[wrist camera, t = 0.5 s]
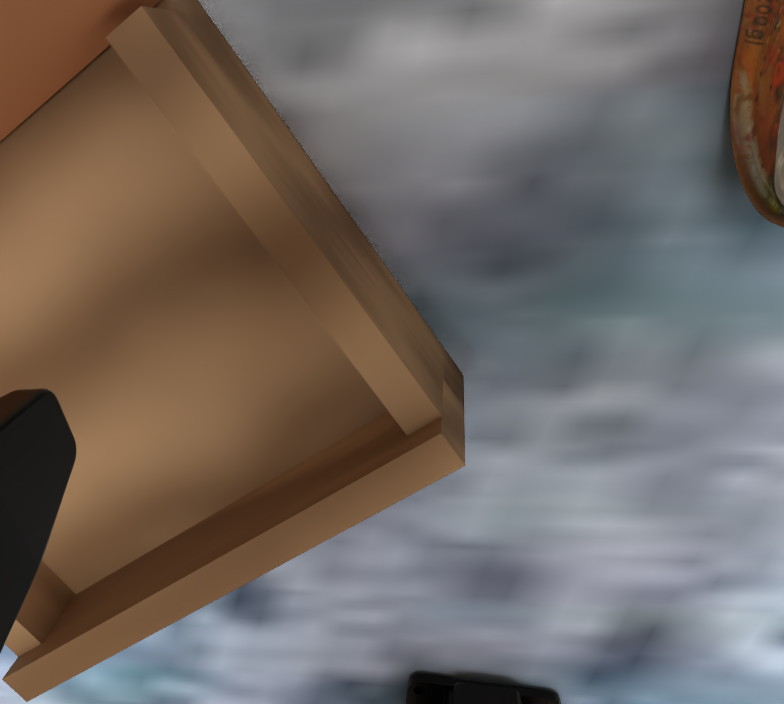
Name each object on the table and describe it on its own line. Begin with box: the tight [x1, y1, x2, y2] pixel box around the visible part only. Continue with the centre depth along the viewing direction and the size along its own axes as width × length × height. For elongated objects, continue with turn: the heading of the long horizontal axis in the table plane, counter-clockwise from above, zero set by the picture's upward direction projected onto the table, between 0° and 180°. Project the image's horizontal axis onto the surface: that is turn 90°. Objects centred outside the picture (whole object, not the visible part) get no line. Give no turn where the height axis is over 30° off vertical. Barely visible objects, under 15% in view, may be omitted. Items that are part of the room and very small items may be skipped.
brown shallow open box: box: [0, 0, 465, 702], centre depth 23 cm, size 16×18×6 cm
